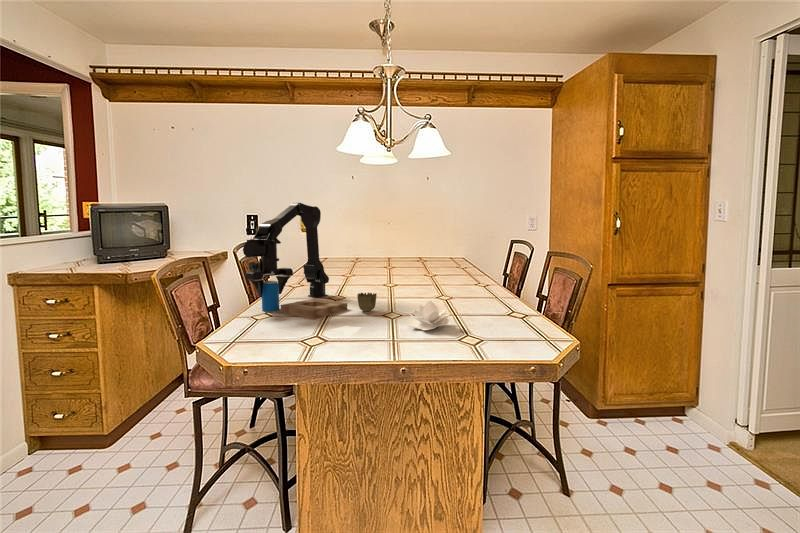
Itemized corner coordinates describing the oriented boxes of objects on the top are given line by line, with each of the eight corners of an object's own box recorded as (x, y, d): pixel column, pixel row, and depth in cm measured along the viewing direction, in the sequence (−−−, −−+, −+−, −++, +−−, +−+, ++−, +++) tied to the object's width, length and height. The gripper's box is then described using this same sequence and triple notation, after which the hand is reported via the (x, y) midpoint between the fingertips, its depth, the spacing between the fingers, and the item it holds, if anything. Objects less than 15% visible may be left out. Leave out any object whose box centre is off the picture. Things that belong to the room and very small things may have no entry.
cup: (373, 316, 165) (373, 295, 164) (354, 315, 167) (354, 295, 166) (378, 312, 173) (378, 292, 172) (360, 311, 174) (360, 291, 173)
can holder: (315, 306, 185) (315, 298, 184) (347, 311, 174) (347, 303, 174) (280, 313, 170) (280, 304, 170) (313, 320, 160) (313, 310, 159)
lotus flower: (402, 330, 146) (402, 304, 145) (414, 320, 160) (414, 296, 159) (444, 333, 141) (445, 306, 140) (453, 323, 156) (454, 299, 155)
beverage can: (276, 313, 170) (275, 282, 169) (259, 313, 170) (259, 282, 169) (281, 310, 177) (280, 280, 175) (265, 310, 177) (264, 280, 176)
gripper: (275, 253, 184) (276, 290, 185) (235, 256, 168) (237, 296, 170) (293, 254, 177) (294, 293, 179) (253, 257, 162) (255, 299, 164)
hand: (270, 295), depth 173 cm, fingers open, 9 cm apart
